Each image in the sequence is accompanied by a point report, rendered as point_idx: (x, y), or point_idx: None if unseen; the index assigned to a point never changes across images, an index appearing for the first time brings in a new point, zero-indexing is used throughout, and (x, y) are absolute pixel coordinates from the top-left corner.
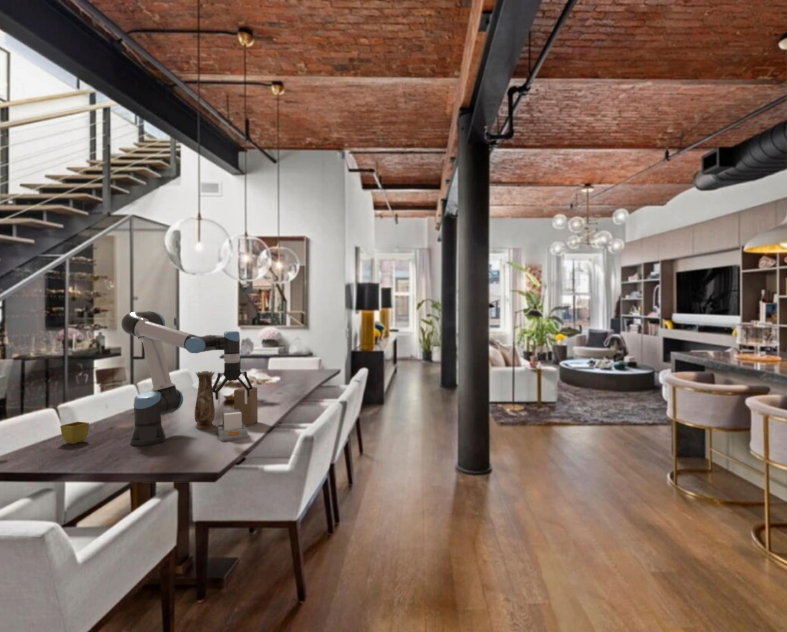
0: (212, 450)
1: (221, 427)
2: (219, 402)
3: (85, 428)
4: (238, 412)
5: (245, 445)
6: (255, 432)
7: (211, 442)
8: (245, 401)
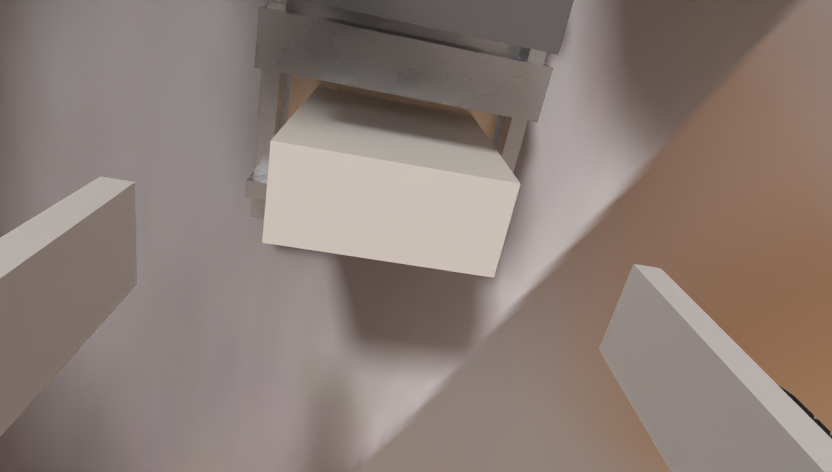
0: (171, 374)
1: (288, 33)
2: (86, 329)
3: None
4: (477, 209)
5: (395, 392)
6: (615, 101)
7: (186, 178)
8: (622, 361)
